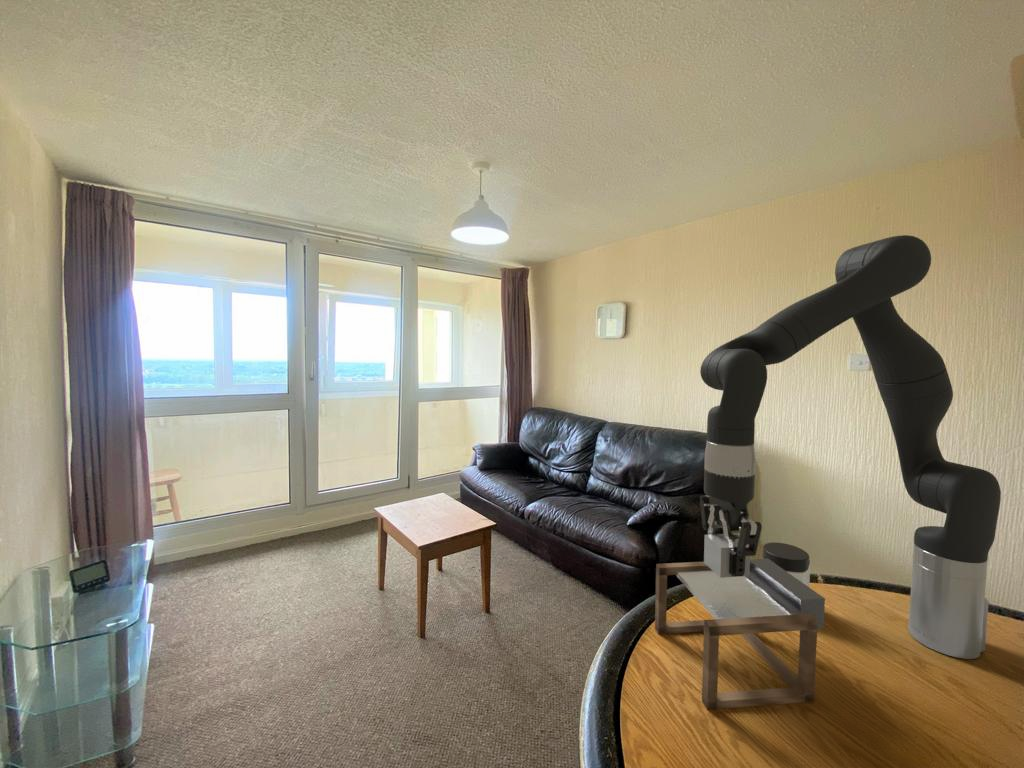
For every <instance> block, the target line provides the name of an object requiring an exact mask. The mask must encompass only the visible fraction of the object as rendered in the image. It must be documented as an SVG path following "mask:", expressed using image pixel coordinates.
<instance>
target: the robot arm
mask: <svg viewBox="0 0 1024 768" xmlns="http://www.w3.org/2000/svg"><path fill="white" fill-rule="evenodd" d="M931 264H932V256H931V250H930V248H929V246H928V244H926V243H925V241H924V240H922V239H921V238H919V237H916V236H913V235H908V234H907V235H906V234H904V235H895V236H888V237H886V238H882V239H878V240H875V241H870V242H868V243H864V244H861V245H857V246H854V247H851V248H848V249H847V250H845V251H843V252H842V254H841V255H840V256H839V257H838V259H837V261H836V264H835V269H834V270H835V271H834V273H835V274H834V276H835V281H836V283H834V284H832V285H830V286H829V287H826V288H824V289H822V290H820V291H818V292H815V293H813V294H812V295H809V296H806V297H805V298H803V299H800V300H798V301H796V302H794V303H793V304H790V305H788V306H787V307H786V308H784V309H782V310H780V311H779V312H777V313H776V314H774V315H773V316H771V317H770V318H768V319H766V320H765V321H764V322H762V323H761V324H760V325H759V326H757V327H755V328H754V329H753V330H750V331H749V332H747V333H745V334H742V335H739V336H737V337H735V338H734V339H731V340H730V341H727V342H726V343H722V344H721V345H720V346H718V347H717V348H715V349H713V350H712V351H711V352H709V353H708V354H707V355H706V357H705V358H704V359H703V361H702V363H701V366H700V378H701V379H702V381H703V382H704V384H705V385H707V386H708V387H709V388H711V389H714V390H717V391H722V395H721V399H720V403H719V405H716V406H712V407H711V408H710V409H709V411H708V413H707V422H706V425H707V426H706V445H705V450H704V465H703V467H704V471H703V480H704V481H703V492H704V494H705V495H700V496H699V503H700V504H699V505H700V513H701V515H700V516H701V524H702V528H703V530H706V531H707V535H712V534H724V537H725V538H726V539H727V540H728V543H729V549H730V556H729V573H730V574H731V575H732V576H733V577H737V576H743V575H744V573H745V557H746V556H750V557H752V556H753V557H755V556H756V554H757V551H758V545H759V542H760V536H761V533H762V528H763V525H762V523H761V522H760V521H753V520H752V519H751V518H750V513H749V510H748V505H749V503H750V502H751V501H753V500H754V499H755V486H756V485H755V483H756V481H755V478H756V451H755V432H756V428H755V427H756V426H755V425H756V417H757V414H758V411H759V408H760V406H761V403H762V400H763V396H764V393H765V389H766V386H767V380H768V369H767V366H770V365H778V364H780V363H782V362H784V361H786V360H788V359H790V358H792V357H793V356H794V355H796V354H797V353H799V352H800V351H801V350H803V349H804V348H806V347H808V346H809V345H810V344H812V343H814V342H815V341H816V340H818V339H819V338H821V337H822V336H823V335H825V334H827V333H829V332H830V331H831V330H833V329H835V328H837V327H838V326H840V325H842V324H843V323H845V322H846V321H848V320H850V319H852V320H853V322H854V323H855V326H856V328H857V330H858V333H859V335H860V339H861V341H862V344H863V346H864V349H865V352H866V354H867V357H868V360H869V362H870V365H871V368H872V372H873V375H874V376H873V377H874V380H875V383H876V386H877V389H878V391H879V394H880V397H881V399H882V400H881V401H882V402H883V405H884V407H885V410H886V413H887V417H888V419H889V423H890V428H891V429H892V434H893V437H894V441H895V444H896V450H897V454H898V460H899V466H900V471H901V476H902V480H903V484H904V488H905V490H906V492H907V494H908V495H909V497H910V498H911V499H912V501H914V502H915V503H916V504H919V505H920V506H923V507H924V508H925V507H926V508H929V509H931V510H934V511H937V512H941V513H943V514H946V515H945V516H946V517H945V520H944V525H943V526H938V525H937V526H935V525H934V526H933V525H926V526H925V525H924V526H920V527H918V528H916V529H915V531H914V535H913V551H912V552H913V553H912V571H911V582H910V597H909V598H910V599H909V610H908V611H909V614H908V627H907V628H908V629H907V630H908V633H909V634H910V636H911V637H912V638H913V639H915V640H916V641H917V642H919V643H920V644H922V645H924V646H925V647H927V648H929V649H931V650H932V651H936V652H938V653H941V654H944V655H946V656H950V657H954V658H958V659H965V660H973V659H978V658H979V657H980V656H981V652H982V653H983V652H985V651H986V642H987V630H988V628H987V627H988V617H989V616H988V615H989V600H988V599H987V598H986V588H987V574H988V573H987V570H988V560H989V559H988V557H989V552H990V550H991V548H992V546H993V544H994V542H995V539H996V531H997V525H998V520H999V519H998V518H999V513H1000V508H1001V507H1000V506H1001V501H1002V498H1001V496H1002V495H1001V494H1002V492H1001V486H1000V483H999V480H998V479H997V477H996V476H995V475H994V474H993V473H991V472H990V471H987V470H985V469H983V468H978V467H975V466H971V465H965V464H961V463H957V462H952V461H947V460H946V459H945V458H944V457H943V454H942V453H941V450H940V446H939V441H938V437H937V432H938V428H939V426H940V424H941V422H942V421H943V420H944V418H945V416H946V414H947V413H948V410H949V409H950V406H951V404H952V402H953V399H954V391H953V387H952V382H951V379H950V376H949V372H948V370H947V366H946V364H945V362H944V361H945V360H944V359H943V357H942V356H941V354H940V353H939V352H938V351H937V350H936V349H935V347H934V346H933V345H932V344H930V342H929V341H928V340H926V339H925V338H924V337H923V336H921V335H920V334H919V333H918V332H917V331H916V330H914V329H913V328H912V327H911V326H910V325H909V324H908V323H907V322H905V320H903V318H902V317H901V316H900V314H899V313H898V311H897V309H896V307H895V305H894V302H893V300H892V298H893V297H896V296H897V295H900V294H902V293H904V292H906V291H908V290H910V289H912V288H914V287H916V286H918V284H919V283H921V282H922V281H923V280H924V279H925V277H926V276H927V275H928V272H929V270H930V267H931ZM738 531H739V533H732V532H738ZM736 539H739V541H738V545H737V547H736V544H735V540H736ZM747 545H749V547H748V546H747Z"/></svg>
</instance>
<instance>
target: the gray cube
mask: <svg viewBox="0 0 1024 768" xmlns="http://www.w3.org/2000/svg"><path fill="white" fill-rule="evenodd" d="M738 541H739V539H736V540H735V544H736V547H737V545H738ZM747 546H748V547H749V544H747ZM703 547H704V548H703V549H704V551H703V562H704V563H705V564H706V565H707V566H708V567H709V568H710V569H712V570H713V571H714V572H715V573H716V574H717V575H718V576H719V577H720V578H722V577H733V576H732V575H731V574H730V573H729V556H730V549H729V543H728V540H727V539H726V538H725V537H724V534H712V535H708V534H704V545H703ZM750 559H751V556H746V557H745V573H744V575H743V576H749V572H750ZM737 577H740V576H737Z"/></svg>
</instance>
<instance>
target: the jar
mask: <svg viewBox="0 0 1024 768" xmlns="http://www.w3.org/2000/svg"><path fill="white" fill-rule="evenodd" d="M767 558H768V559H769V560H771V561H772V562H774V563H775V564H776V565H778V566H779V567H781V568H782V569H784V570H785V571H786V572H788V573H789V574H791V575H792V576H794V577H795V578H796V579H798V580H799V581H801V582H802V583H804V584H805V585H806V586H808V587H809V588H810V581H811V580H810V578H811V577H810V576H811V566H810V561H811V560H810V555H809V554H808V552H807V551H805V550H804V549H802V548H800V547H798V546H796V545H794V544H793V545H792V544H788V543H784V542H774V541H773V542H767V543H764V544H763V546H762V559H767Z"/></svg>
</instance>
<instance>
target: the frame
mask: <svg viewBox="0 0 1024 768" xmlns="http://www.w3.org/2000/svg"><path fill="white" fill-rule="evenodd" d="M693 571H713V570H712V569H710V568H709V567H708V566H707V565H706V564H705V563H704V561H692V562H691V561H689V562H688V561H687V562H671V563H668V562H667V563H655V602H654V603H655V605H654V606H655V607H654V608H655V609H654V610H655V611H654V612H655V614H654V630H655V631H656V633H657V634H658V635H663V634H664V635H665V634H680V633H681V634H682V633H696V632H697V633H699V632H703V651H702V652H703V653H702V657H703V658H702V681H701V682H702V687H701V688H702V689H701V702H702V704H703V705H704V707H705V709H706V710H709V711H710V710H722V709H733V708H747V707H757V706H770V705H771V706H772V705H785V704H795V703H796V704H798V703H799V704H800V703H809V702H810V703H811V702H815V687H816V686H815V684H816V667H817V663H816V662H817V647H818V646H817V645H818V641H817V640H818V629H817V626H818V620H817V619H816V618H815V617H813V616H812V615H811V614H797V615H780V616H763V617H746V618H730V619H715V618H713V619H700V620H684V621H682V620H681V621H667V604H668V603H667V598H668V597H667V596H668V592H667V591H668V576H677V572H693ZM798 631H799V645H798V646H799V648H798V649H799V650H798V669H797V674H795V673H794V672H793V670H791V669H790V667H788V666H787V665H786V664H785V662H783V661H782V660H781V659H780V658H779V657H778V656H777V655H776V654H775V653H774V652H773V650H772V649H770V648H769V646H767V645H766V644H765V643H764V642H763V641H762V639H761V638H759V637H758V636H757V634H764V633H766V634H767V633H779V632H781V633H782V632H783V633H784V632H798ZM734 635H735V636H736V635H741V636H742V637H743V639H745V641H747V643H748V644H749V645H750V646H751V647H752V648H753V649H754V650H755V651H756V652H757V654H758V655H760V656H761V657H762V658H763V660H765V662H766V663H767V664H768V665H769V666H770V668H772V669H773V671H775V673H777V674H778V675H779V676H780V678H781V679H782V680H783V681H784V682H785V683H786V684H787V685H788V686H789V687H780V688H779V687H778V688H766V689H765V688H764V689H751V690H741V691H739V690H738V691H737V690H736V691H723V692H718V686H719V685H718V682H719V679H718V678H719V655H720V654H719V648H720V636H734Z"/></svg>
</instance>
